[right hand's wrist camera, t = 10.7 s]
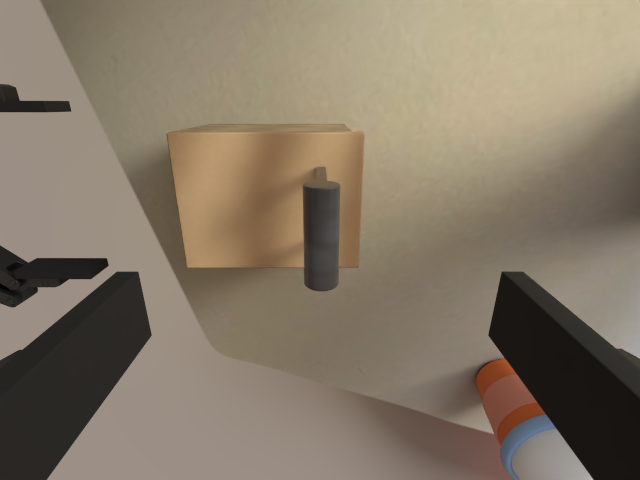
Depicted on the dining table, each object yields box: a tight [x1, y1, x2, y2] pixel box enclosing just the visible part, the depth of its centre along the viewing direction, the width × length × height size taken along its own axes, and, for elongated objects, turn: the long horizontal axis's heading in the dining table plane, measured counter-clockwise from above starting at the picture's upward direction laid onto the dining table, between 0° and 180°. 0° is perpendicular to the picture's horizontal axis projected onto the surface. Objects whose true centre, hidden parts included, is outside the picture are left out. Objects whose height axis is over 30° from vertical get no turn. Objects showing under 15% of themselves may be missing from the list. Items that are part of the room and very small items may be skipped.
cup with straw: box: [476, 359, 593, 480], centre depth 36 cm, size 9×9×18 cm
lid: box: [167, 131, 364, 291], centre depth 23 cm, size 14×10×8 cm
